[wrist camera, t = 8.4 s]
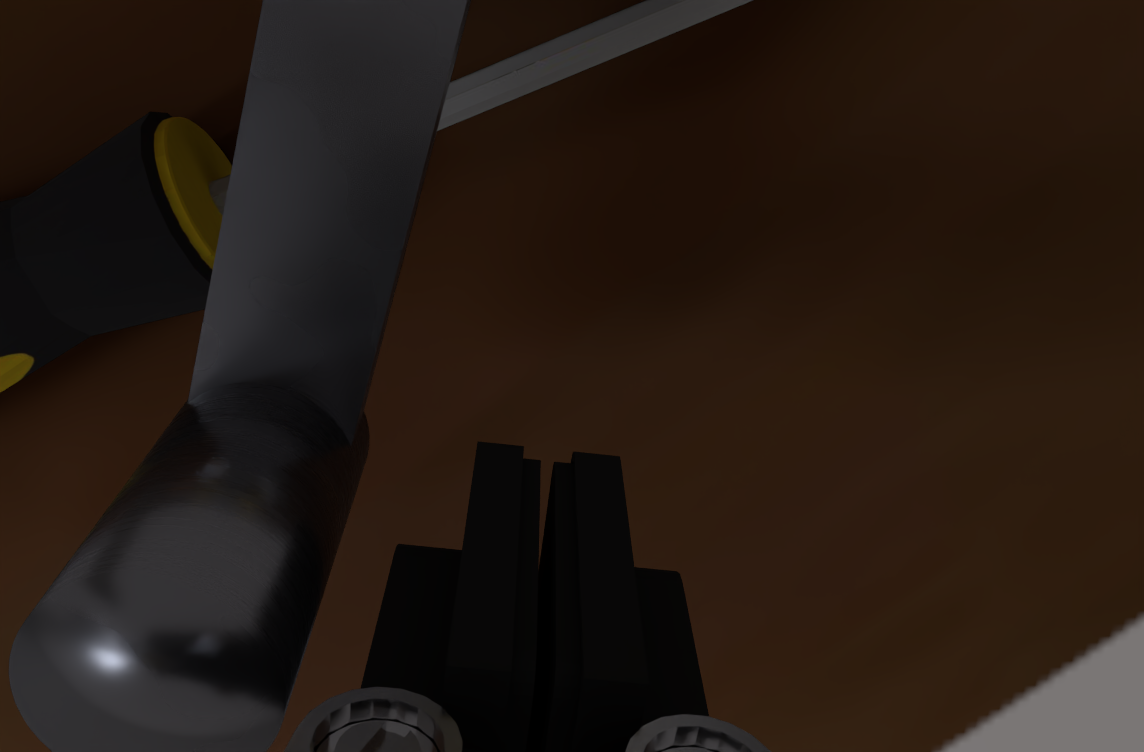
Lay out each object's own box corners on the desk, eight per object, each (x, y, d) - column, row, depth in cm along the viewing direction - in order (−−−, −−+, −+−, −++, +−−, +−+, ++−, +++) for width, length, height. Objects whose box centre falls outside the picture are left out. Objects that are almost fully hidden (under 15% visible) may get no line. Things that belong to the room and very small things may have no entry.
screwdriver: (-451, 614, 16) (1521, -173, 13) (-626, 433, 15) (1516, -492, 12) (-292, 503, 19) (1326, -152, 16) (-426, 346, 18) (1305, -401, 15)
